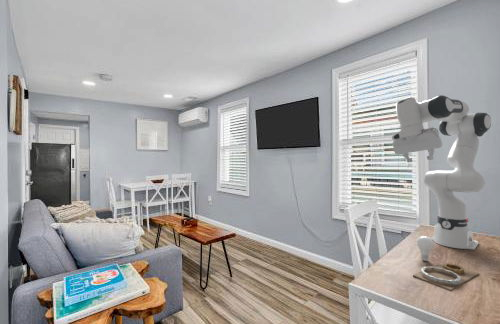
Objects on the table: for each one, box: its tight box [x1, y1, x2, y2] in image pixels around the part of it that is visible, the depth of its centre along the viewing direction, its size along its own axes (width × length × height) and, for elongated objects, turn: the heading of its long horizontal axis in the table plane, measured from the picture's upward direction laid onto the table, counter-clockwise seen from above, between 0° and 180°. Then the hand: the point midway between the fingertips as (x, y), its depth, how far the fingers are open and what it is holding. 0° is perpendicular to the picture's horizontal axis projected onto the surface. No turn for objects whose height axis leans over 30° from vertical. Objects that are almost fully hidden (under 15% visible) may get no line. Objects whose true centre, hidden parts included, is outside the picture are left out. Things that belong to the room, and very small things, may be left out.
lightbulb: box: [416, 235, 435, 262], centre depth 108 cm, size 6×6×11 cm
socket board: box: [412, 261, 480, 292], centre depth 95 cm, size 24×12×2 cm, turn 120°
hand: (419, 161), depth 113 cm, fingers open, 8 cm apart
